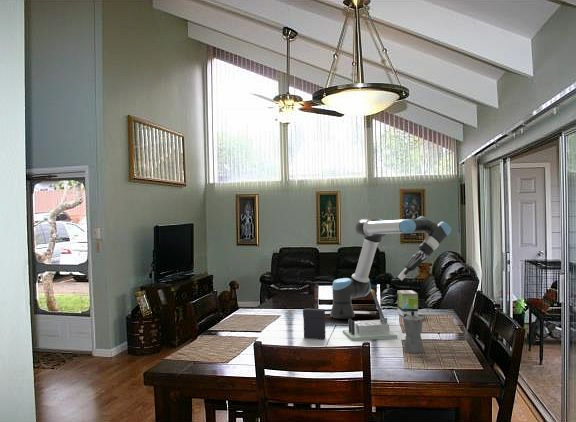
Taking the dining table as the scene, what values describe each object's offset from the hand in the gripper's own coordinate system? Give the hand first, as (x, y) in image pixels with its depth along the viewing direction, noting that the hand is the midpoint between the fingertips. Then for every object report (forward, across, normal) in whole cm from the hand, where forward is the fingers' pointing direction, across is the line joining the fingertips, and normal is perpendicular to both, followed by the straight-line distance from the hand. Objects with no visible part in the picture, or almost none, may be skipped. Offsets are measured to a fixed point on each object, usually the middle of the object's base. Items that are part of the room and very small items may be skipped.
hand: (399, 278), depth 260 cm
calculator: (+54, +1, +12) cm, 55 cm away
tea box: (+5, +46, -37) cm, 59 cm away
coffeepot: (+26, -32, -16) cm, 44 cm away
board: (+33, 0, -8) cm, 34 cm away
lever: (+19, 0, -1) cm, 19 cm away
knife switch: (+32, 0, -7) cm, 33 cm away
